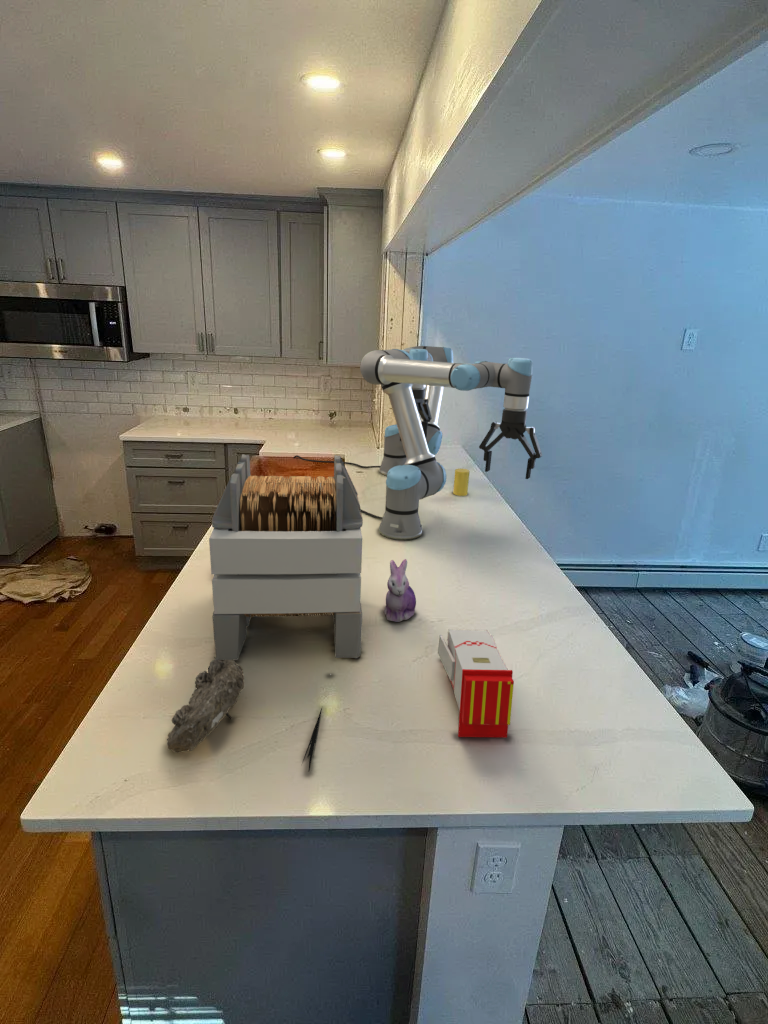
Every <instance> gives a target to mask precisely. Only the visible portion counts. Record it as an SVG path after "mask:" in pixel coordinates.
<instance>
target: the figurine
mask: <svg viewBox="0 0 768 1024" xmlns="http://www.w3.org/2000/svg"><path fill="white" fill-rule="evenodd" d="M407 567H408V559H406V558H404V559H403V560H402V561H401V563H400V565H399V566H398V565H397V563H396V562H395V561H394V560H393V559H391V560H390V561H389V570H390V576H389V578H388V579H387V589H388V591H387V592H386V594H385V595H386V596H385V607H384V615H385V616H386V620H387V621H391V622H395V623H400V622H402V621H406V620H409V619H410V618H411V617H413V616H414V615H415V610H416V606H417V597H416V593H415V591H414V590H413V587H411V586H410V582H409V579H408V577H407V574H406V571H407Z"/></svg>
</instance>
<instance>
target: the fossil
mask: <svg viewBox="0 0 768 1024" xmlns="http://www.w3.org/2000/svg"><path fill="white" fill-rule="evenodd" d="M243 670H244V669H243V667H242V665H240V664H237V662H236V660H232V659H231V660H228V659H227V660H221V661H217V660H215V659H212V660H211V661H210V663H209V665H208V666H207V671H201V672H199V673H198V674H197V675H196V676H195V680H194V684H195V685H194V687H195V689H194V690H193V693H192V694H191V697H190V698H189V700H188V704H184V705H182V706H181V707H180V709H177V710H176V711H175V713H174V715H173V716H172V718H171V723H172V724H173V727H172V730H171V731H170V732H168V734H167V738H166V741H167V742H166V745H167V749H168V750H169V751H173V752H174V753H176V754H178V753H182V752H188V751H189V752H192V751H193V750H195V748H196V747H197V746H199V744H200V743H201V742H203V741H204V740H205V739H206V738H207V737H208V736H209V735H210V734H211V733H212V732H214V730H215V729H217V727H218V726H219V724H220V722H221V721H222V720H223V719H224V718H225V716H226V717H227V719H229V720H233V717H232V715H230V714H229V710H230V709H231V708H234V706H235V704H236V703H237V702H238V699H239V697H240V695H241V693H242V691H243V690H245V689H244V688H245V675H244V671H243Z"/></svg>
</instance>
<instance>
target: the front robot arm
mask: <svg viewBox="0 0 768 1024" xmlns="http://www.w3.org/2000/svg"><path fill="white" fill-rule="evenodd" d="M533 365H534V362H533V360H532V359H531V358H527V357H526V358H525V357H510V358H509V359H508V361H507V363H502V362H501V363H500V362H493V361H487V360H481V361H480V360H477V361H474V362H473V363H463V362H462V363H461V362H453V363H448V362H434V361H421V360H413V358H412V356H411V355H410V354H409V353H408V352H406V351H404V349H398V348H390V349H375V350H371V351H369V352H367V353H366V354H365V355H363V357H362V359H361V361H360V366H359V370H360V374H361V376H362V378H363V379H364V380H365V381H366V382H367V383H369V384H371V385H379V386H381V390H382V393H383V394H386V395H387V396H388V399H389V402H390V406H391V410H392V413H393V416H394V420H395V424H396V423H397V427H398V430H399V434H400V437H401V441H402V444H403V447H404V451H405V454H406V458H407V460H406V462H405V464H404V465H402V466H401V465H398V466H395V467H393V468H391V469H390V470H389V471H388V473H387V476H386V479H385V504H384V505H385V507H384V508H385V509H384V513H383V515H382V516H379V515H376V514H373V513H370V512H369V511H365V510H363V509H361V513H363V514H365V515H368V516H370V517H373V518H375V519H379V520H381V522H379V527H378V533H379V534H380V535H381V536H382V537H385V538H387V539H389V540H395V541H410V540H415V539H418V538H420V537H421V536H422V535H423V525H422V524H421V518H420V515H419V507H420V506H419V505H420V500H423V499H425V498H428V497H430V496H434V495H436V494H437V493H439V492H440V491H442V490H443V489H444V487H445V485H446V483H447V471H446V468H445V467H444V465H443V464H441V463H440V462H438V461H437V459H436V455H433V454H431V453H430V452H429V449H428V445H427V442H426V438H425V435H424V431H423V428H422V424H421V421H420V414H419V412H418V410H417V407H416V403H415V400H414V396H413V393H412V389H411V387H412V385H413V384H419V385H429V386H439V387H444V388H452V389H456V390H457V391H463V392H464V391H465V392H468V391H472V390H477V389H483V388H490V387H491V388H498V389H499V388H500V389H504V396H503V405H502V407H503V409H502V413H501V422H498V421H496V420H495V421H492V422H491V423H490V428H489V429H488V431H487V433H486V434H485V436H484V438H483V440H482V441H481V443H480V444H479V446H478V448H479V449H480V450H482V451H484V452H483V461H484V462H485V467H484V472H485V473H487V472H489V471H490V470H491V465H492V464H491V463H492V457H493V456H492V455H493V451H492V450H491V449H492V448H493V447H494V446H495V445H497V444H498V443H499V442H500V441H501V440H502V439H503V438H505V439H510V440H511V439H512V440H518V441H519V443H520V444H521V445H522V447H523V448H524V450H525V451H526V453H527V455H528V456H529V458H528V459H527V463H526V471H525V479H526V480H528V479H530V478H531V473H532V470H534V469H535V467H536V460H537V459H541V458H542V457H543V452H542V449H541V446H540V443H539V441H538V437H537V435H536V427H535V426H527V425H526V423H527V418H528V417H527V416H528V411H527V410H528V409H529V408H528V407H529V401H530V392H531V385H532V378H533V367H534V366H533ZM498 429H499V430H500V431H501V432H500V433H499V434H498V435H497V436H496V437H495V438H494V439H493V440H492V441H490V440H491V438H492V436H493V435H494V433H495V431H496V430H498ZM526 432H527V434H528V435H529V438H530V442H531V444H530V443H529V441H528V440H527V437H526V436H525V433H526ZM489 441H490V443H489ZM488 443H489V444H488ZM487 444H488V445H487ZM531 445H532V446H531ZM532 447H533V448H532Z"/></svg>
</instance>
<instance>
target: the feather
mask: <svg viewBox="0 0 768 1024" xmlns="http://www.w3.org/2000/svg"><path fill="white" fill-rule="evenodd" d="M329 675H330V676H331V675H332V674H331V673H330V674H329ZM322 710H323V707H321V708H320V710H319V713H318V716H317V719H316V723H315V725H314V728H313V731H312V733H311V737H310V739H309V742H308V745H307V748H306V751H305V754H304V757H303V760H302V763H301V767H302V765H303V763H304V761H305V758H308V759H309V760H308V762H307V763H308V764H307V766H308V771H310V770H311V766H312V765H311V764H312V760H313V757H315V756H314V755H315V751H316V749H315V746H317V739H318V733H319V729H320V722H321V717H322V712H323V711H322ZM313 754H314V755H313ZM306 755H307V757H306Z"/></svg>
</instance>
